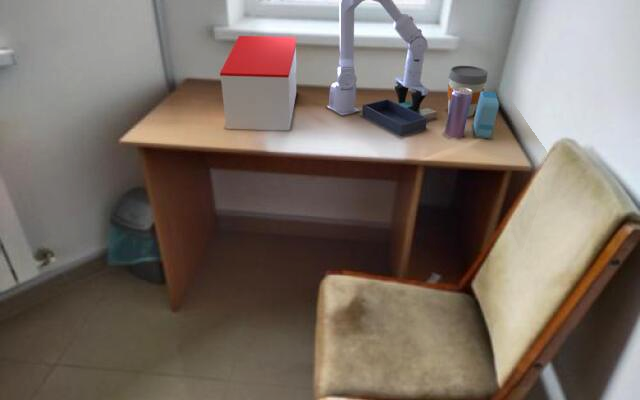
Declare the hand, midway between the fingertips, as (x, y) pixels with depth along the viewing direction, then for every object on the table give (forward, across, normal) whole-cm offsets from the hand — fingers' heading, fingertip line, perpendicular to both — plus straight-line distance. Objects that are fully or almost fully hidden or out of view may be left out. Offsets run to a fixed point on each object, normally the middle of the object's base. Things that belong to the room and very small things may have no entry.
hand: (408, 108), depth 157 cm
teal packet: (+1, 0, 0) cm, 1 cm away
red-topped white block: (+1, +28, +43) cm, 51 cm away
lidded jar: (+1, -10, -16) cm, 19 cm away
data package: (+1, -26, -9) cm, 27 cm away
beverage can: (+1, -22, +1) cm, 23 cm away
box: (+1, -5, +12) cm, 13 cm away
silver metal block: (+1, -8, 0) cm, 8 cm away
